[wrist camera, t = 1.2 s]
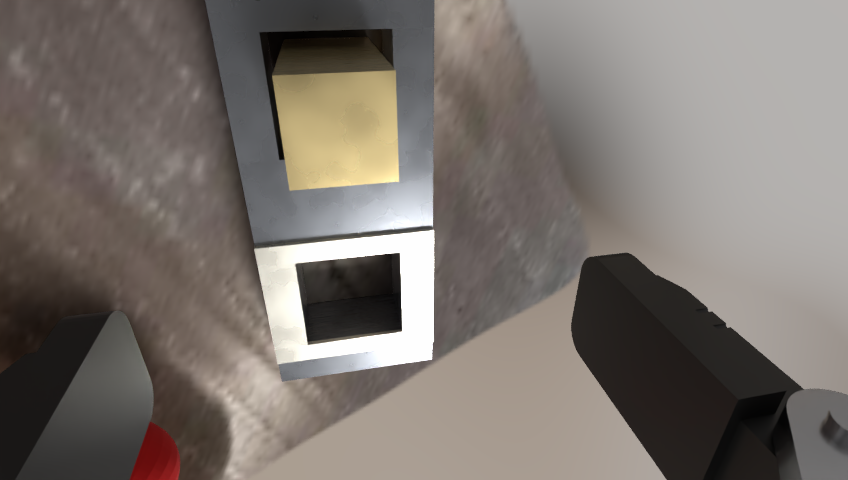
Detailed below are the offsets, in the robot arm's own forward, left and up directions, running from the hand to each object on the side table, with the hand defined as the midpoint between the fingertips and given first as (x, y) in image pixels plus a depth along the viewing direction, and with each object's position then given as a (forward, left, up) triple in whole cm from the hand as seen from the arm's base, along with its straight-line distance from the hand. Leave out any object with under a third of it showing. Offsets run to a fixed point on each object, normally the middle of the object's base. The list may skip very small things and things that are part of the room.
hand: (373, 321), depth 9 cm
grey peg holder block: (+6, 0, -22) cm, 22 cm away
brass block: (0, 0, -22) cm, 22 cm away
